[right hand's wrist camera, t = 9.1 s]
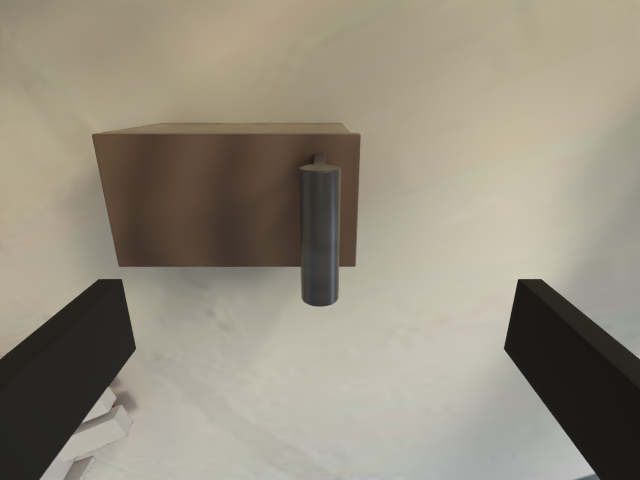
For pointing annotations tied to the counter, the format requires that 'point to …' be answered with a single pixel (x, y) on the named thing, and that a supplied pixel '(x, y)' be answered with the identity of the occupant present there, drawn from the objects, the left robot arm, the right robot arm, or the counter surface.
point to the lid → (235, 202)
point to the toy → (90, 439)
